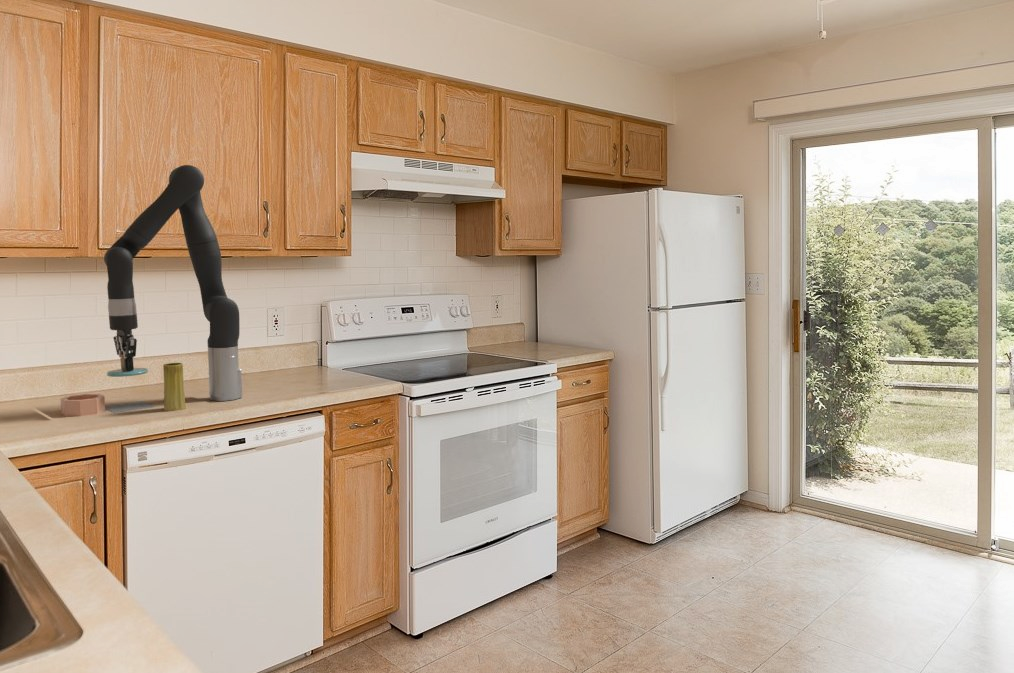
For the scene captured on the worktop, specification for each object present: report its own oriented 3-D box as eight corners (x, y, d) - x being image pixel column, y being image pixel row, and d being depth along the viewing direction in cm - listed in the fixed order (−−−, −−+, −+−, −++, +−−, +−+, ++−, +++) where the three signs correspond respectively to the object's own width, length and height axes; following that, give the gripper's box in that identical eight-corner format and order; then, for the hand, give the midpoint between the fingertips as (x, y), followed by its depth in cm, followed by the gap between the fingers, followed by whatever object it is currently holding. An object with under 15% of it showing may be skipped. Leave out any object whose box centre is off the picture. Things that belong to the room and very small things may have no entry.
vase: (189, 408, 224) (187, 362, 222) (181, 412, 218) (179, 365, 216) (169, 408, 224) (166, 362, 222) (160, 412, 218) (158, 365, 216)
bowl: (97, 408, 223) (96, 392, 223) (108, 414, 216) (107, 397, 215) (58, 413, 216) (57, 397, 215) (68, 419, 208) (67, 402, 208)
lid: (140, 369, 230) (138, 351, 230) (153, 373, 223) (151, 354, 222) (102, 374, 223) (100, 355, 222) (114, 378, 215) (112, 358, 214)
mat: (142, 403, 232) (142, 401, 232) (156, 408, 224) (156, 406, 223) (100, 408, 224) (100, 406, 223) (113, 414, 215) (113, 412, 215)
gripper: (144, 313, 218) (148, 370, 220) (128, 311, 228) (132, 366, 230) (117, 315, 213) (122, 374, 215) (101, 313, 223) (106, 369, 225)
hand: (127, 369), depth 222 cm, fingers closed on lid, 3 cm apart
